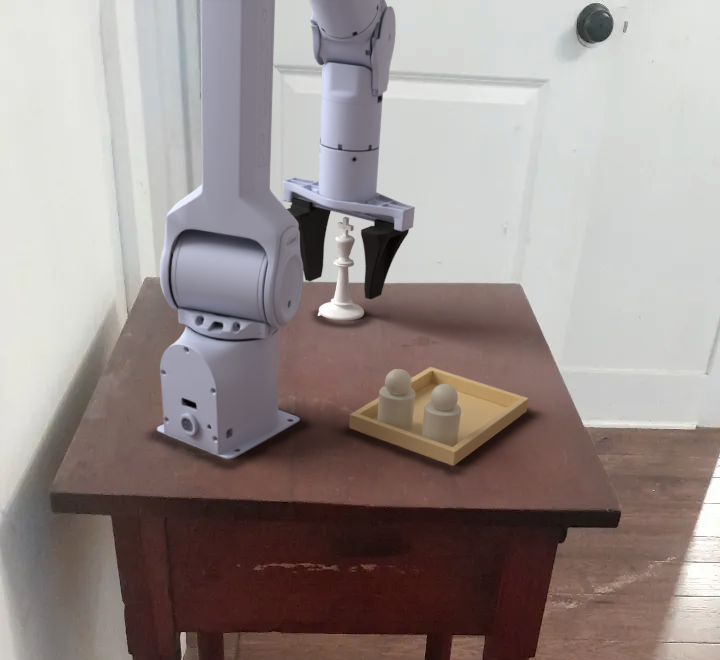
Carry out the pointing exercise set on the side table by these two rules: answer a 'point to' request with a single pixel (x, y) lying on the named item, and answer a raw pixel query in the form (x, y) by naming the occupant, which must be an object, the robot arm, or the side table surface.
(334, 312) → the chess piece
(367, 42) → the robot arm
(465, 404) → the chess tray
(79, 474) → the side table surface
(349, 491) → the side table surface
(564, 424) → the side table surface
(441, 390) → the pawn
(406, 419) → the pawn
